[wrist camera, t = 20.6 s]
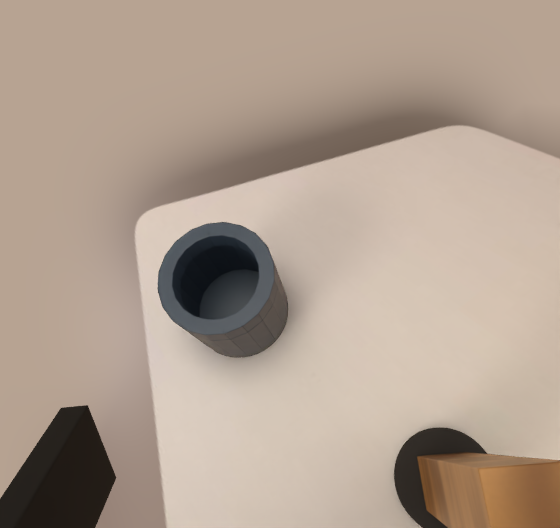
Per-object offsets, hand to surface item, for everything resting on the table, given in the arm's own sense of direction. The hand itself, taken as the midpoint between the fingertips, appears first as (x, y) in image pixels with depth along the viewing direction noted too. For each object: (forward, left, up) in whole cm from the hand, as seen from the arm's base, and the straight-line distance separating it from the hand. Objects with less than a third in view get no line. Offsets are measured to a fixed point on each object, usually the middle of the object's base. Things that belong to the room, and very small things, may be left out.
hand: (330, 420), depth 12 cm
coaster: (+6, +7, -29) cm, 31 cm away
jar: (-14, -4, -29) cm, 33 cm away
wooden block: (+6, +7, -29) cm, 30 cm away
